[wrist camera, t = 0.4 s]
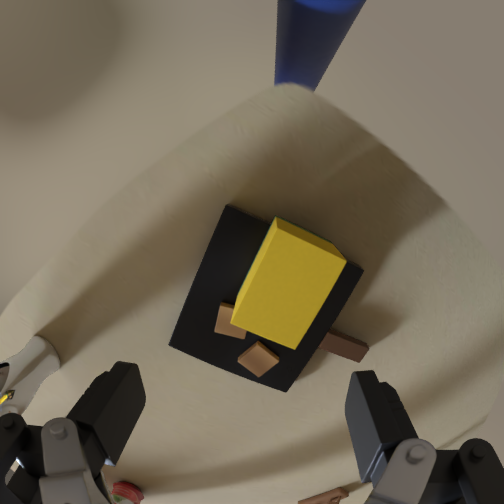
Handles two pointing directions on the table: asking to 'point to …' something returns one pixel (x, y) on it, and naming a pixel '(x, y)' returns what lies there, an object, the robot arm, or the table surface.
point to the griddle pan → (226, 290)
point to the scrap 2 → (258, 359)
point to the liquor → (126, 493)
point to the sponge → (287, 283)
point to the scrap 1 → (228, 322)
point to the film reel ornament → (327, 497)
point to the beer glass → (26, 374)
